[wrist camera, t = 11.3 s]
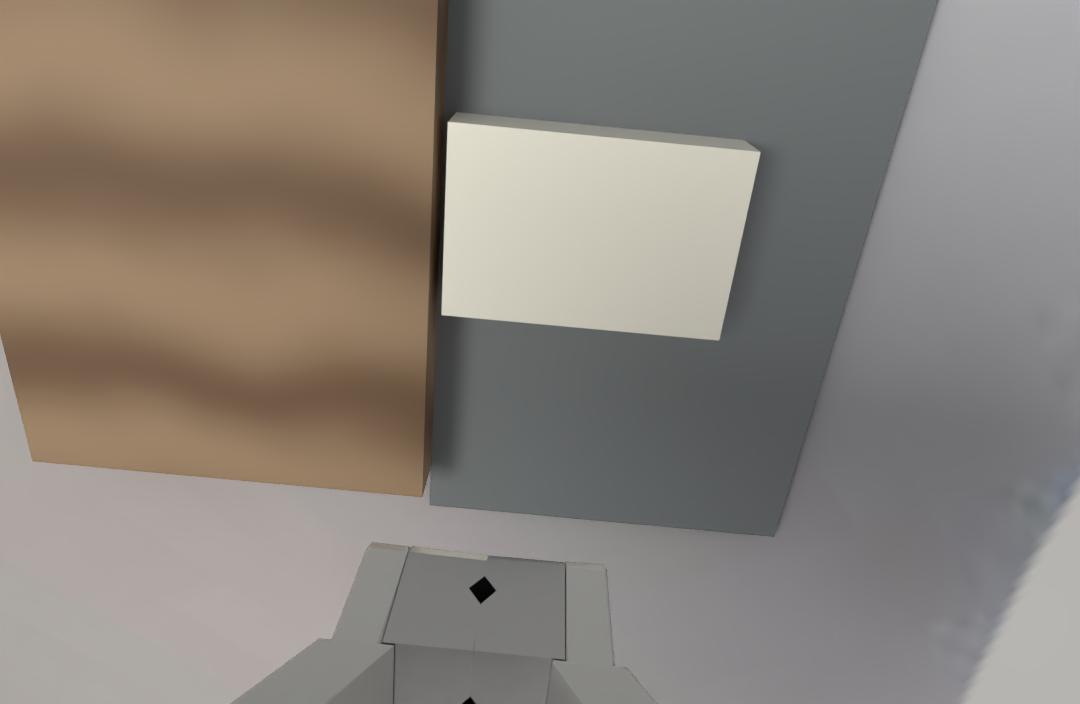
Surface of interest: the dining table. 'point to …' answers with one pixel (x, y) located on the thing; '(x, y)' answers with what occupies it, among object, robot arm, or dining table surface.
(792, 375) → the mat
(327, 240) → the wooden board
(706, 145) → the white flat block
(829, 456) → the dining table surface
